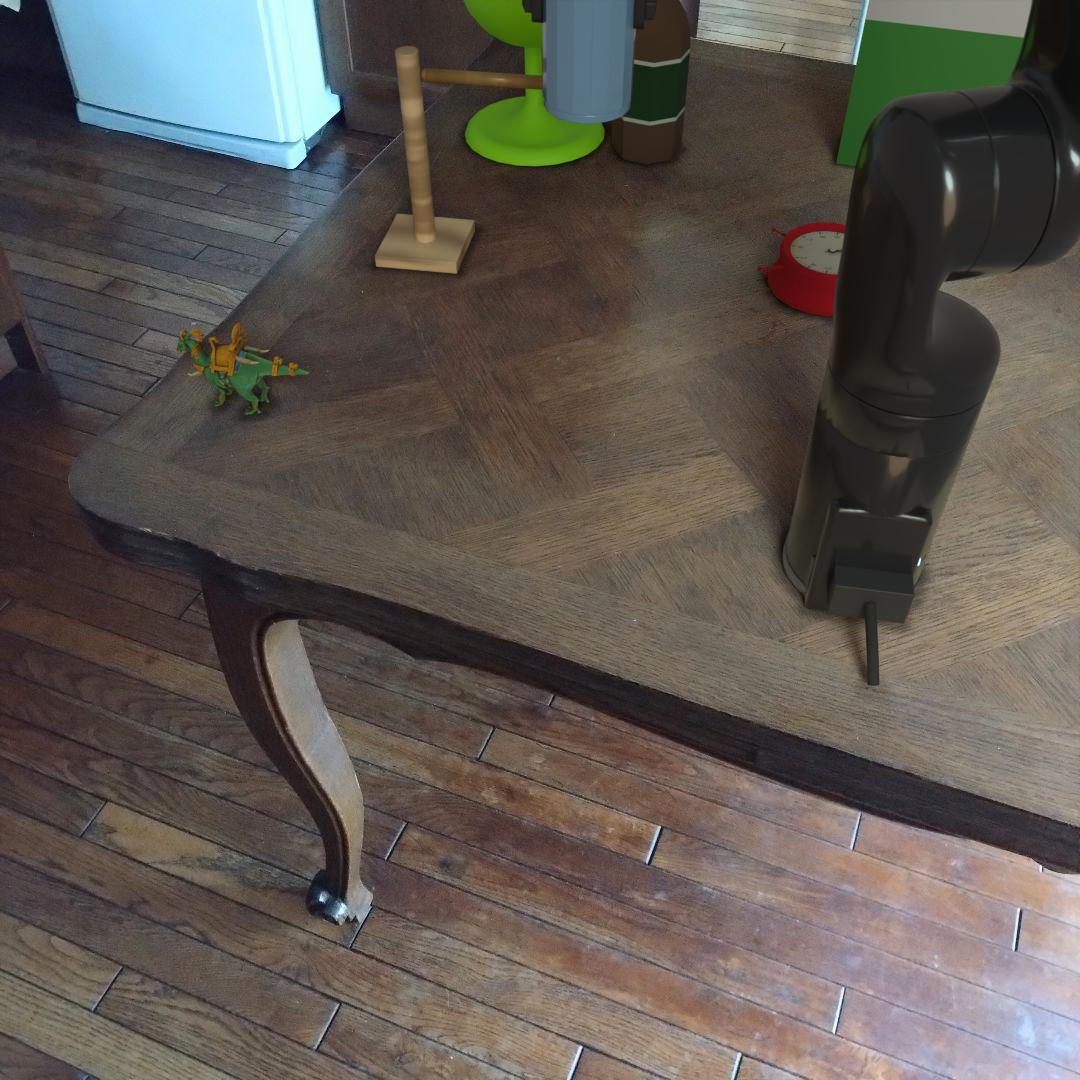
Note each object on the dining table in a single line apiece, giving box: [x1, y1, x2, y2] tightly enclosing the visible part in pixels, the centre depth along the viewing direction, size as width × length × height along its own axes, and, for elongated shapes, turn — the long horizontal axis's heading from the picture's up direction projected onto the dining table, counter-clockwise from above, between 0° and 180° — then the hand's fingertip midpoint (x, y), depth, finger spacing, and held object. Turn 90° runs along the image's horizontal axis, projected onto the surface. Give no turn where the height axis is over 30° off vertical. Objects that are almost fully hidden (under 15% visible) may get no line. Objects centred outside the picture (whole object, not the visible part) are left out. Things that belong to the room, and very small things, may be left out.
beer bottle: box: [611, 0, 692, 165], centre depth 109 cm, size 8×8×24 cm
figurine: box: [175, 322, 310, 416], centre depth 85 cm, size 3×12×8 cm, turn 72°
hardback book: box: [835, 0, 1031, 167], centre depth 107 cm, size 18×7×24 cm, turn 70°
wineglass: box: [462, 0, 606, 167], centre depth 114 cm, size 16×16×18 cm
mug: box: [542, 0, 636, 124], centre depth 73 cm, size 10×6×10 cm, turn 170°
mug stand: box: [374, 45, 543, 274], centre depth 97 cm, size 8×17×19 cm, turn 80°
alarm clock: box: [757, 221, 846, 317], centre depth 96 cm, size 10×6×15 cm
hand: (589, 20), depth 71 cm, fingers closed on mug, 6 cm apart
